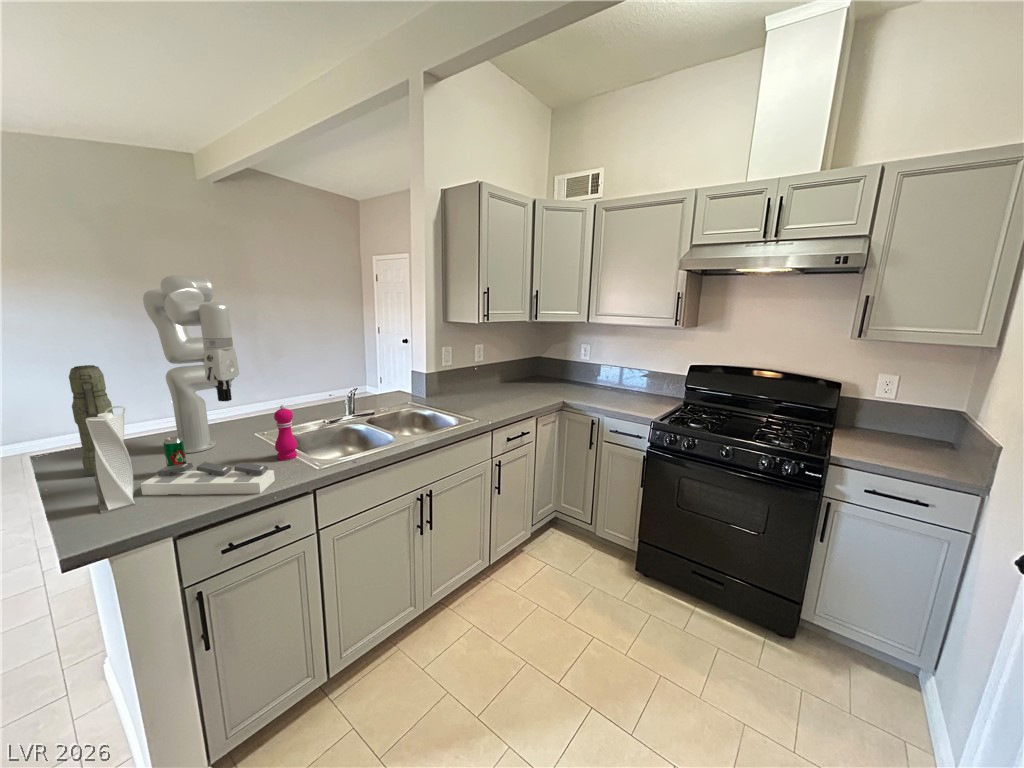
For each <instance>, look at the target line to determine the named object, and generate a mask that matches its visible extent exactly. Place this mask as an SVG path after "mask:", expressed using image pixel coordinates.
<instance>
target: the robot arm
mask: <svg viewBox="0 0 1024 768" xmlns="http://www.w3.org/2000/svg"><path fill="white" fill-rule="evenodd" d="M159 285H160V288H158V289H157V288H156V289H150V290H147V291H145V292H144V294H143V296H142V301H143V303H142V304H143V307H144V310H145V312H146V314H147V316H148V317H149V319H150V320H151V322H152V323H153V325H154V326H155V328H156V329H157V332H158V337H159V340H160V344H161V348H162V351H163V353H164V356H165V359H166V360H167V361H168V363H169V364H174V365H175V364H176V365H183V364H195V365H183V366H177V367H173V368H170V369H169V370H168V371H167V372H166V374H165V382H166V385H167V387H168V390H169V393H170V396H171V402H172V407H173V412H174V413H173V414H174V419H175V425H176V426H175V427H176V433H177V434H176V435H177V436H180V437H181V438H182V439H183V441H184V448H185V454H192V453H198V452H204V451H206V450H210V449H212V448H213V447H215V446H216V445H217V444H216V443H217V442H216V441H215V440H214V439H211V437H210V436H211V435H210V428H209V427H210V426H209V420H208V414H207V413H208V411H207V404H206V402H205V399H204V398H203V397H202V396H201V395H199V394H197V391H199V392H200V391H203V390H206V391H207V390H210V389H211V390H212V389H215V390H216V395H217V401H218V402H229V401H232V399H233V398H232V392H231V391H232V390H231V389H232V381H234V380H235V378H237V377H239V375H240V369H239V363H238V358H237V354H236V350H235V347H234V342H233V333H232V325H231V315H230V308H229V306H228V305H227V304H226V303H221V302H217V301H212V300H213V297H214V295H215V290H214V289H215V288H214V286H213V285H214V284H213V283H212V282H211V280H209V279H208V278H206V277H204V276H199V275H183V274H182V275H180V274H173V275H167V276H165V277H164V278H163V279H162V280H161V281H160V284H159ZM198 326H200V329H201V337H200V336H198V337H192V336H190V335H189V331H188V328H187V327H198ZM196 363H202V364H196Z"/></svg>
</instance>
